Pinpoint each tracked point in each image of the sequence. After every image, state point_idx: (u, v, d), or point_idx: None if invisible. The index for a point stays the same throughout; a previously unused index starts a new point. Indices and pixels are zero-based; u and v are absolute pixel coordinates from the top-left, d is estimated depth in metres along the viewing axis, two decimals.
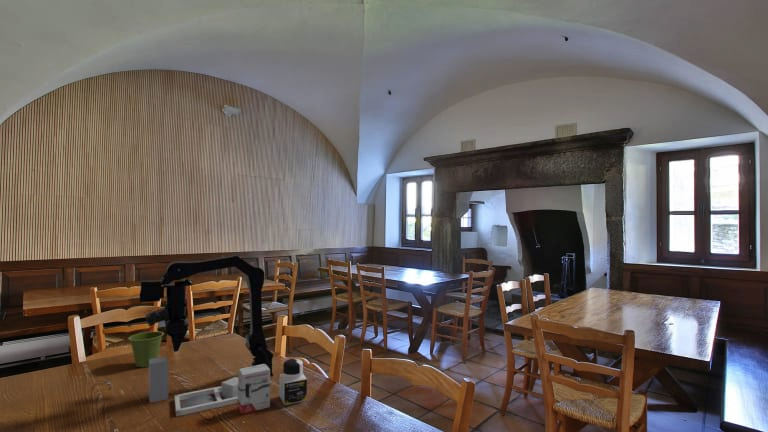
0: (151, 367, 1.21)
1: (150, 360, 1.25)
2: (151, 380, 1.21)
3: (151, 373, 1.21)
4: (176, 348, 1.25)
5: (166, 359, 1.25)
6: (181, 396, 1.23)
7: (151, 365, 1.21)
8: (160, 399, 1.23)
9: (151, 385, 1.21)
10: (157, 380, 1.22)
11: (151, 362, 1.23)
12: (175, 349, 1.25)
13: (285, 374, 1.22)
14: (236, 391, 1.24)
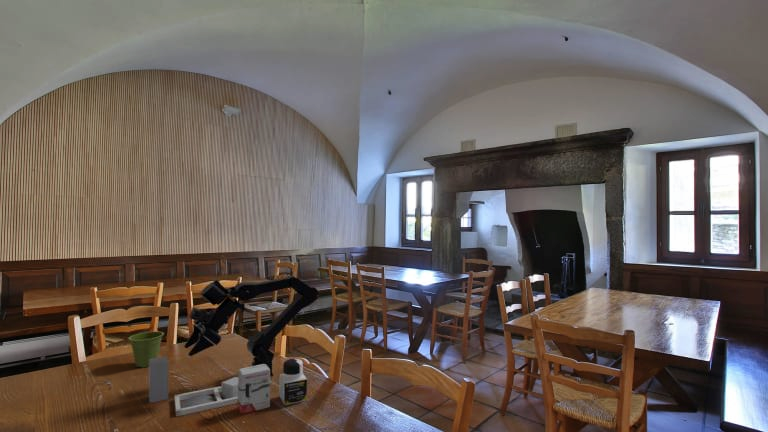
0: (151, 367, 1.21)
1: (150, 360, 1.24)
2: (151, 380, 1.21)
3: (151, 373, 1.21)
4: (192, 353, 1.26)
5: (166, 359, 1.25)
6: (181, 396, 1.23)
7: (151, 365, 1.21)
8: (160, 399, 1.23)
9: (151, 385, 1.21)
10: (157, 380, 1.22)
11: (151, 362, 1.23)
12: (190, 353, 1.26)
13: (285, 374, 1.22)
14: (236, 391, 1.24)
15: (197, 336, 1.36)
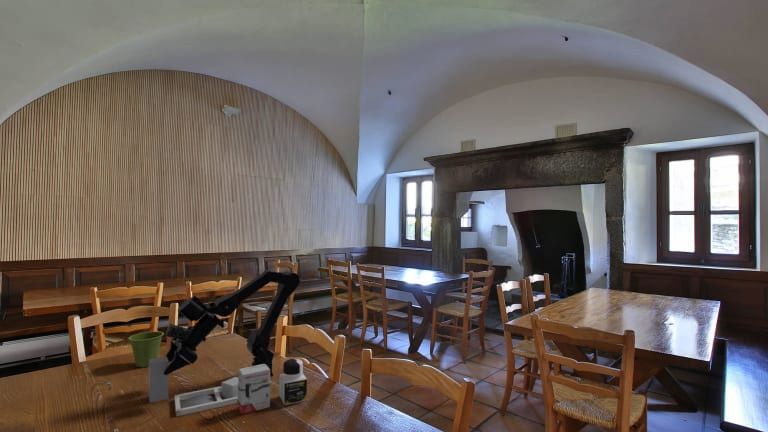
0: (151, 367, 1.21)
1: (150, 360, 1.24)
2: (151, 380, 1.21)
3: (151, 373, 1.21)
4: (167, 372, 1.22)
5: (166, 359, 1.25)
6: (181, 396, 1.23)
7: (151, 365, 1.21)
8: (160, 399, 1.23)
9: (151, 385, 1.21)
10: (157, 380, 1.22)
11: (151, 362, 1.23)
12: (165, 372, 1.22)
13: (285, 374, 1.22)
14: (236, 391, 1.24)
15: (174, 353, 1.32)
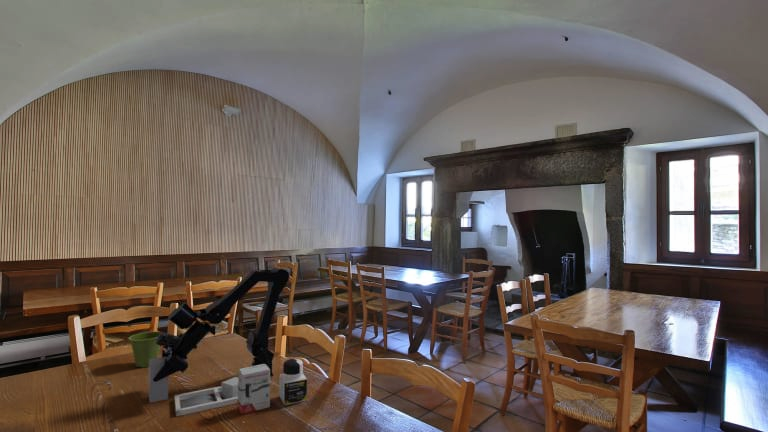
0: (151, 367, 1.21)
1: (150, 360, 1.25)
2: (151, 380, 1.21)
3: (151, 373, 1.21)
4: (157, 379, 1.22)
5: None
6: (181, 396, 1.23)
7: (151, 365, 1.21)
8: (160, 399, 1.23)
9: (151, 385, 1.21)
10: None
11: (151, 361, 1.23)
12: (155, 379, 1.22)
13: (285, 374, 1.22)
14: (236, 391, 1.24)
15: None
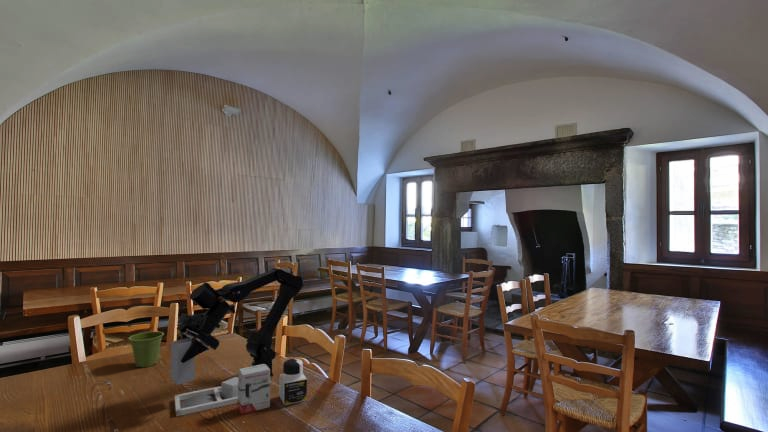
0: (178, 348, 1.19)
1: (173, 342, 1.21)
2: (179, 361, 1.19)
3: (178, 354, 1.19)
4: (185, 359, 1.19)
5: (190, 340, 1.23)
6: (181, 396, 1.23)
7: (178, 346, 1.19)
8: (187, 380, 1.21)
9: (179, 366, 1.19)
10: None
11: (176, 343, 1.20)
12: (183, 360, 1.19)
13: (285, 374, 1.22)
14: (236, 391, 1.24)
15: None
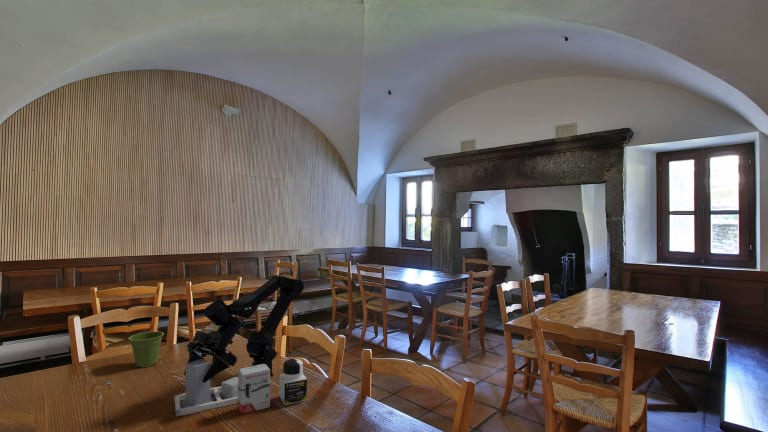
0: (196, 370, 1.18)
1: (189, 364, 1.20)
2: (196, 383, 1.18)
3: (196, 376, 1.18)
4: (207, 379, 1.18)
5: (205, 361, 1.23)
6: (181, 396, 1.23)
7: (196, 368, 1.18)
8: (204, 402, 1.20)
9: (196, 388, 1.18)
10: (202, 383, 1.20)
11: (193, 365, 1.19)
12: (204, 379, 1.18)
13: (285, 374, 1.22)
14: (236, 391, 1.24)
15: None
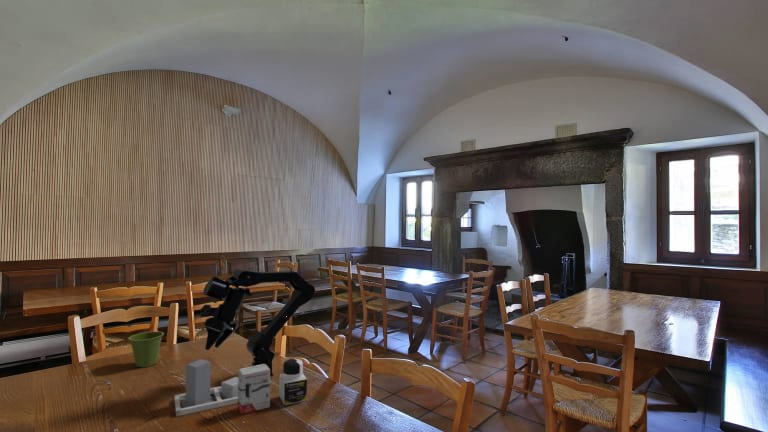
0: (196, 370, 1.18)
1: (189, 364, 1.20)
2: (196, 383, 1.18)
3: (196, 376, 1.18)
4: (208, 346, 1.28)
5: (205, 361, 1.23)
6: (181, 396, 1.23)
7: (196, 368, 1.18)
8: (204, 402, 1.20)
9: (196, 388, 1.18)
10: (202, 383, 1.20)
11: (193, 365, 1.19)
12: (206, 347, 1.28)
13: (285, 374, 1.22)
14: (236, 391, 1.24)
15: (223, 334, 1.39)
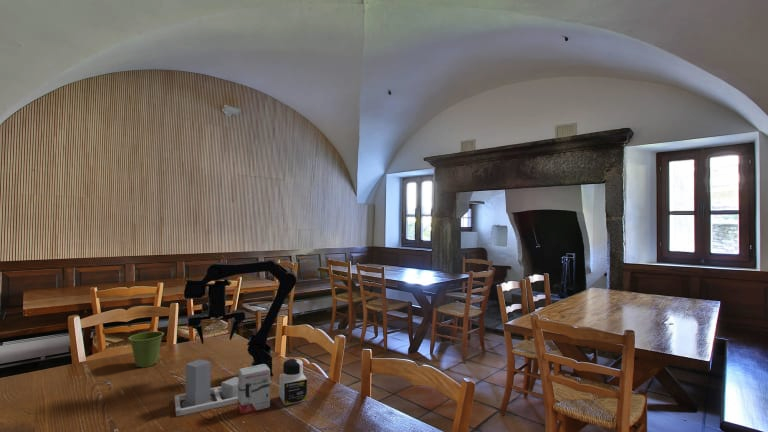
0: (196, 370, 1.18)
1: (189, 364, 1.20)
2: (196, 383, 1.18)
3: (196, 376, 1.18)
4: (201, 341, 1.38)
5: (205, 361, 1.23)
6: (181, 396, 1.23)
7: (196, 368, 1.18)
8: (204, 402, 1.20)
9: (196, 388, 1.18)
10: (202, 383, 1.20)
11: (193, 365, 1.19)
12: None
13: (285, 374, 1.22)
14: (236, 391, 1.24)
15: (231, 326, 1.42)
